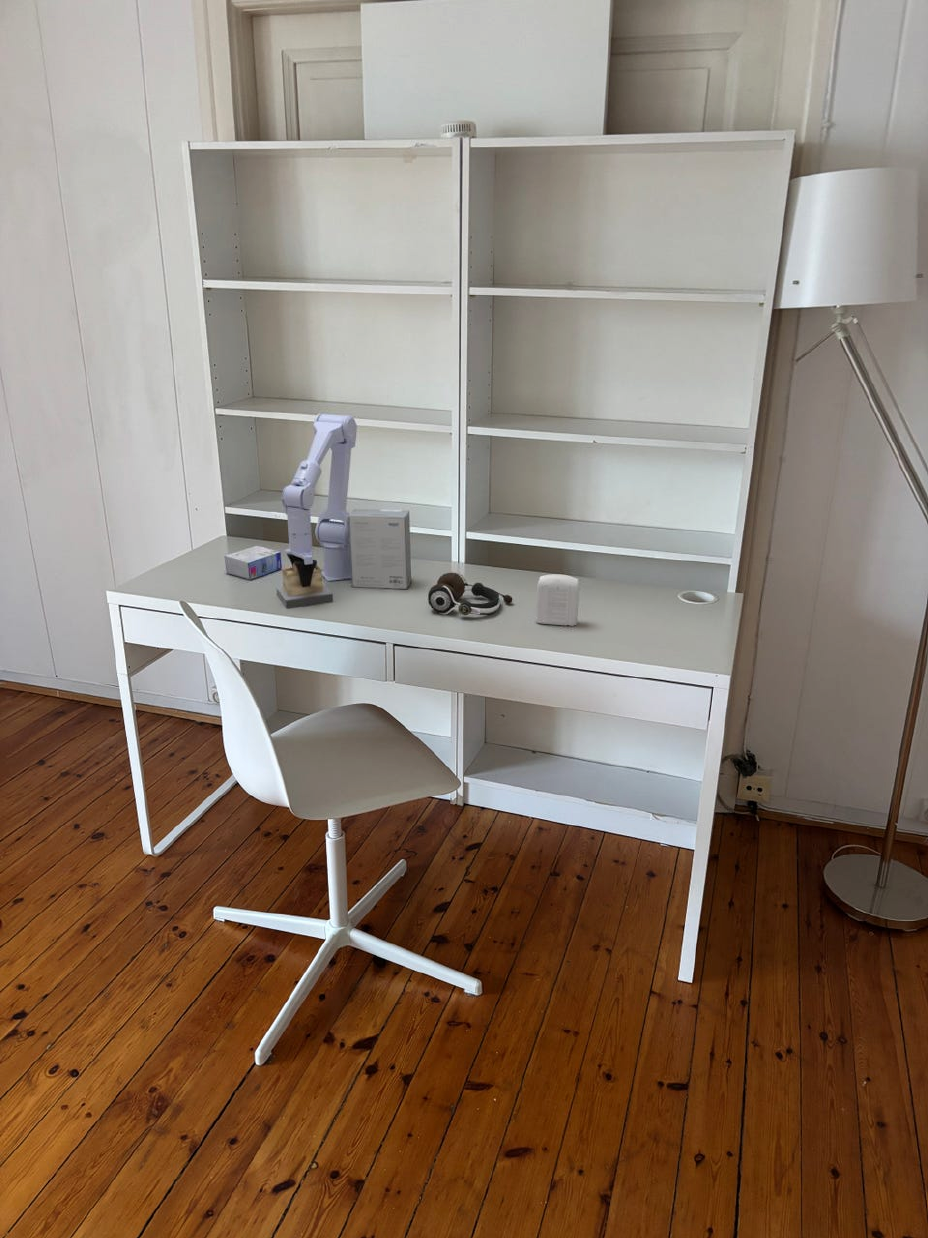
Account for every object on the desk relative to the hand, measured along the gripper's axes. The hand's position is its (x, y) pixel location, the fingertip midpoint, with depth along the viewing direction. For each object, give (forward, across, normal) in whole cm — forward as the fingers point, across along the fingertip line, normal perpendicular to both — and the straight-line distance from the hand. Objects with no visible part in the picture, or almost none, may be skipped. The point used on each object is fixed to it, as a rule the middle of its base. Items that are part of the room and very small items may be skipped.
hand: (303, 582), depth 233 cm
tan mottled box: (+2, 0, 0) cm, 2 cm away
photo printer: (+4, +41, +52) cm, 66 cm away
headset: (+5, +23, +37) cm, 43 cm away
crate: (-3, 0, 0) cm, 3 cm away
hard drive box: (+4, -2, +22) cm, 23 cm away
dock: (+4, 0, 0) cm, 4 cm away
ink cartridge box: (+2, -22, -13) cm, 26 cm away
